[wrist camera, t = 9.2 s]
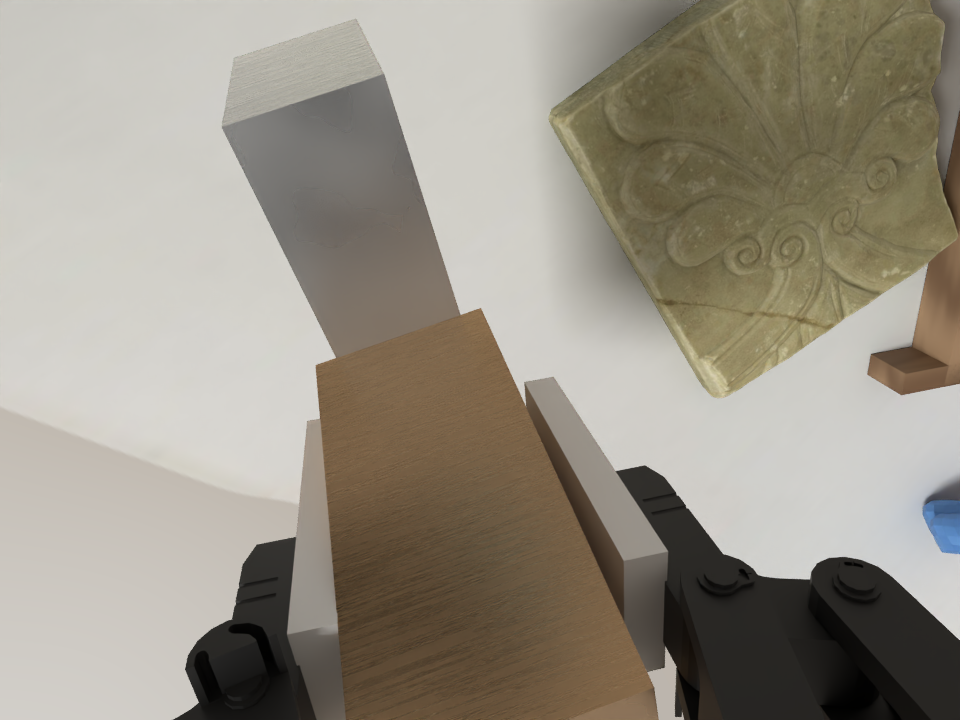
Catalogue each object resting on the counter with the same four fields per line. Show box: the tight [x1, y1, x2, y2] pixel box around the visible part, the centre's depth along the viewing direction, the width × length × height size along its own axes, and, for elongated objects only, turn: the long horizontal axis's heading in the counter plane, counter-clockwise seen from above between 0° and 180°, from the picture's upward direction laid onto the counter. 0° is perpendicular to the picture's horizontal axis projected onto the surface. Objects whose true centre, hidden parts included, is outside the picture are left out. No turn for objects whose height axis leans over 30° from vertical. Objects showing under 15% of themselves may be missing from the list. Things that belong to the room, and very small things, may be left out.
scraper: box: [222, 19, 659, 720], centre depth 15 cm, size 16×4×14 cm, turn 16°
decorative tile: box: [549, 0, 958, 398], centre depth 36 cm, size 19×20×4 cm
